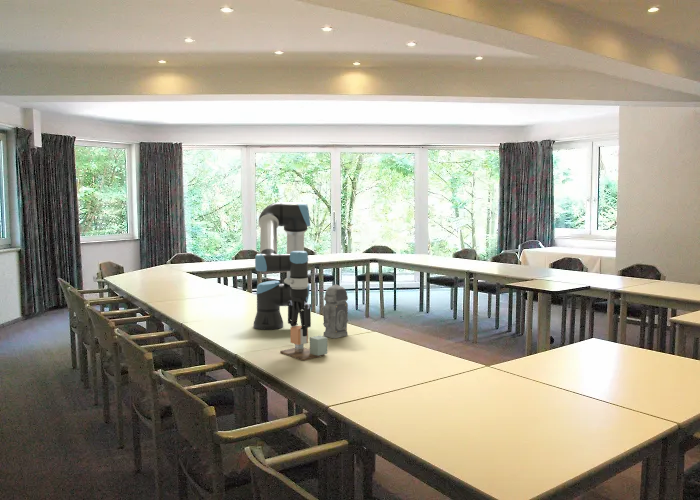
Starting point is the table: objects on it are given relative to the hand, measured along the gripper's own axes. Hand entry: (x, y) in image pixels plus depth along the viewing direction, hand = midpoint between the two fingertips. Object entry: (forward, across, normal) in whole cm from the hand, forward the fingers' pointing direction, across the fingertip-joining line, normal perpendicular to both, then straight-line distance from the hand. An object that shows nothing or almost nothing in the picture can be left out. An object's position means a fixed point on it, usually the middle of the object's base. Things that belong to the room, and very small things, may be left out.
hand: (299, 342), depth 235 cm
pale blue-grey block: (+5, +8, +4) cm, 10 cm away
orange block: (0, 0, 0) cm, 0 cm away
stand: (+5, +2, 0) cm, 5 cm away
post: (+5, 0, 0) cm, 5 cm away
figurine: (+5, -14, +33) cm, 36 cm away
